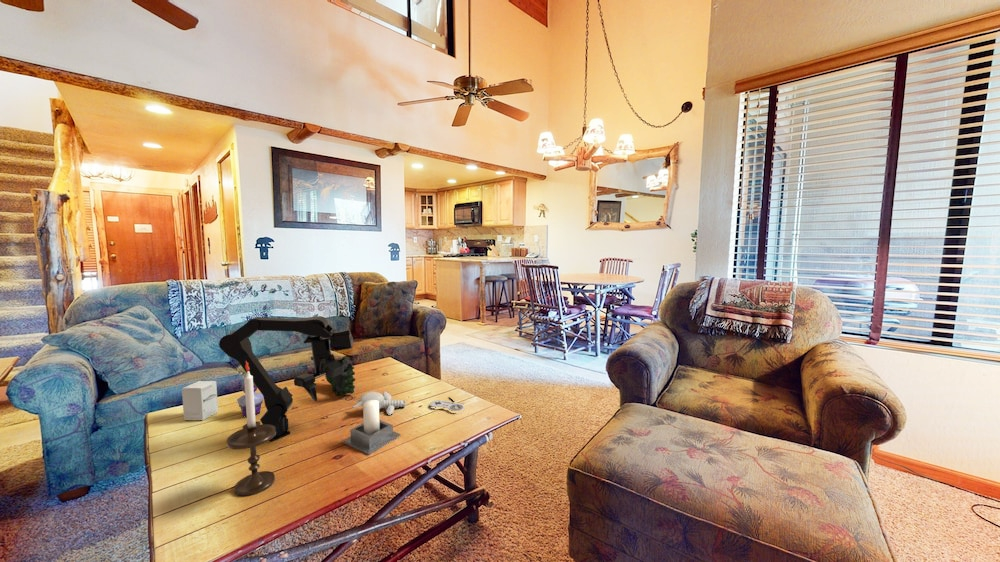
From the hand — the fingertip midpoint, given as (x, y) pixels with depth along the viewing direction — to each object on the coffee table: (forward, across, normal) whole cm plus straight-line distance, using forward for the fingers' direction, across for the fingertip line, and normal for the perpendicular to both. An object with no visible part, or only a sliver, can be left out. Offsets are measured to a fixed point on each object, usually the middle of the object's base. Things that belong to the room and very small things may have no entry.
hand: (328, 395), depth 125 cm
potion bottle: (+10, -9, +36) cm, 39 cm away
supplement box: (+8, -20, +51) cm, 55 cm away
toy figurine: (+12, +22, +27) cm, 37 cm away
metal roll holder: (+14, +2, -18) cm, 23 cm away
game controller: (+17, +37, -24) cm, 47 cm away
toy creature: (+14, +18, -3) cm, 23 cm away
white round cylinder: (+13, +2, -18) cm, 22 cm away
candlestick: (+11, -30, -9) cm, 33 cm away
